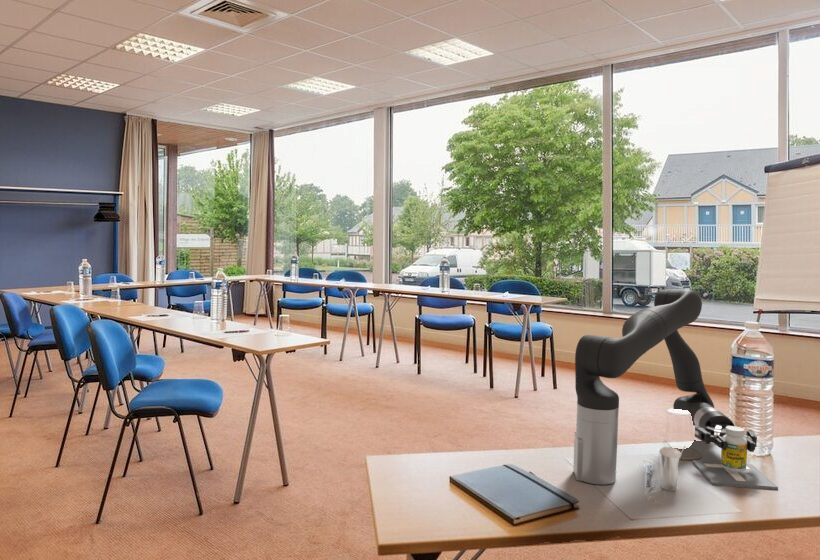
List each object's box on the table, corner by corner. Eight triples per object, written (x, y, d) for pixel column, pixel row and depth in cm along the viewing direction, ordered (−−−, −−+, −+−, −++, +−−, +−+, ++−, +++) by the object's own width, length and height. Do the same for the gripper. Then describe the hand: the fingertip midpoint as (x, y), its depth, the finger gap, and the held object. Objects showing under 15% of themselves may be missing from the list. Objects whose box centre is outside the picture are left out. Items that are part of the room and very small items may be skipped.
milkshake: (686, 493, 131) (688, 449, 130) (660, 491, 132) (662, 446, 131) (680, 485, 135) (682, 442, 135) (655, 483, 137) (657, 440, 136)
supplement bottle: (743, 465, 144) (745, 426, 143) (748, 473, 139) (750, 433, 138) (718, 462, 145) (720, 423, 145) (722, 470, 140) (725, 430, 140)
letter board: (711, 484, 136) (712, 481, 136) (692, 462, 150) (692, 459, 150) (778, 489, 134) (778, 486, 134) (752, 466, 148) (752, 464, 148)
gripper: (685, 408, 157) (707, 429, 140) (743, 412, 154) (773, 433, 138) (683, 436, 157) (705, 460, 140) (742, 440, 155) (771, 464, 138)
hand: (738, 446), depth 139 cm, fingers closed on supplement bottle, 5 cm apart
